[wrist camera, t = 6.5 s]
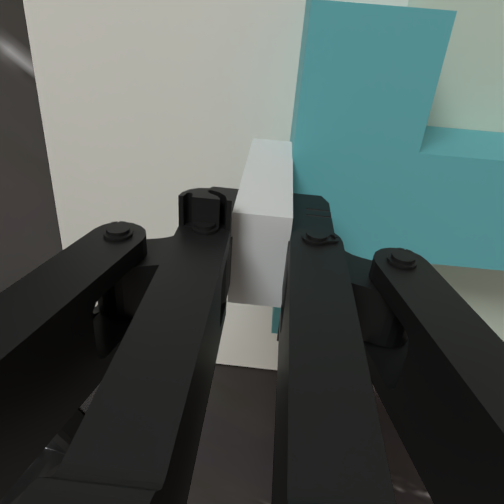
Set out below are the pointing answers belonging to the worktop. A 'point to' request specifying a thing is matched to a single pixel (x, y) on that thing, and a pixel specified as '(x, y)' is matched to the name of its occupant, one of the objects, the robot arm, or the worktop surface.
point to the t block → (392, 139)
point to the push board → (215, 115)
